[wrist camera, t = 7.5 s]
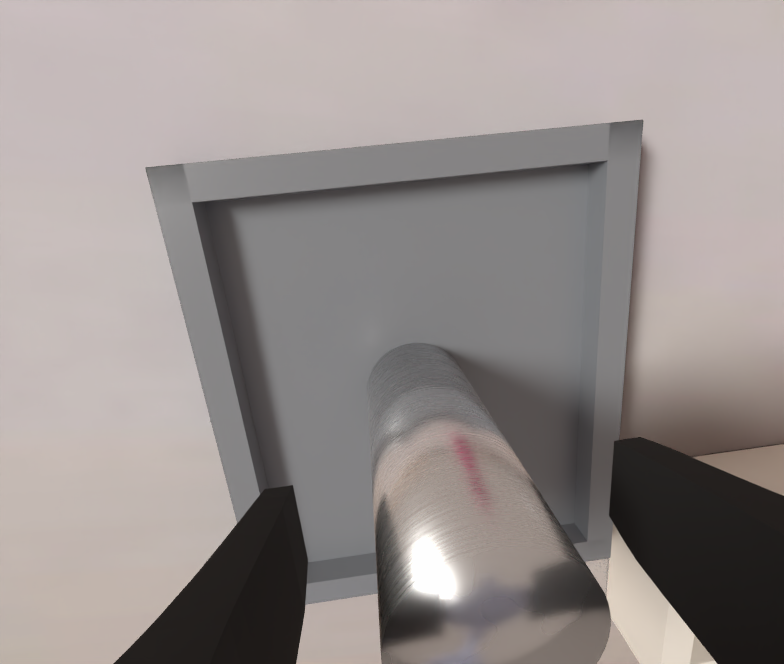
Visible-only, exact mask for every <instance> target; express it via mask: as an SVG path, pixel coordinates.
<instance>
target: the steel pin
mask: <svg viewBox="0 0 784 664" xmlns="http://www.w3.org/2000/svg"><path fill="white" fill-rule="evenodd" d="M367 399H368V418H369V437H370V456H371V475H372V494H373V512H374V531H375V550H376V569H377V588H378V607H379V626H380V645H381V660H382V664H597V662H598V660H599V659H600V657H601V655H602V653H603V651H604V649H605V647H606V644H607V641H608V638H609V633H610V626H611V614H610V609H609V604H608V601H607V598H606V596H605V593H604V592H603V590H602V588H601V587H600V585H599V584H598V582H597V581H596V579H595V577H594V576H593V574H592V573H591V571H590V570H589V568H588V567H587V565H586V563H585V562H584V560H583V559H582V557H581V556H580V554H579V552H578V551H577V549H576V548H575V546H574V545H573V543H572V542H571V540H570V538H569V537H568V535H567V534H566V532H565V531H564V529H563V527H562V526H561V524H560V523H559V521H558V520H557V518H556V517H555V515H554V513H553V512H552V510H551V509H550V507H549V506H548V504H547V502H546V501H545V499H544V498H543V496H542V495H541V493H540V492H539V490H538V488H537V487H536V485H535V484H534V482H533V481H532V479H531V478H530V476H529V474H528V473H527V471H526V470H525V468H524V467H523V465H522V463H521V462H520V460H519V459H518V457H517V456H516V454H515V453H514V451H513V449H512V448H511V446H510V445H509V443H508V442H507V440H506V438H505V437H504V435H503V434H502V432H501V431H500V429H499V428H498V426H497V424H496V423H495V421H494V420H493V418H492V417H491V415H490V414H489V412H488V410H487V409H486V407H485V406H484V404H483V403H482V401H481V399H480V398H479V396H478V395H477V393H476V392H475V390H474V389H473V387H472V385H471V384H470V382H469V381H468V379H467V378H466V376H465V374H464V373H463V371H462V370H461V368H460V367H459V365H458V364H457V362H456V361H455V359H454V358H453V357H452V356H451V355H450V354H449V353H448V352H446V351H445V350H443V349H441V348H439V347H437V346H434V345H431V344H426V343H409V344H404V345H401V346H398V347H396V348H394V349H392V350H390V351H389V352H387V353H386V354H385V355H384V356H382V357H381V358H380V359H379V361H378V362H377V363H376V364H375V366H374V367H373V369H372V371H371V373H370V376H369V379H368V384H367Z"/></svg>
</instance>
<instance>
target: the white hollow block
mask: <svg viewBox="0 0 784 664" xmlns="http://www.w3.org/2000/svg"><path fill="white" fill-rule="evenodd" d="M692 458H695V459H697V460H699V461H702V462H704V463H706V464H709V465H711V466H713V467H716V468H718V469H721V470H723V471H725V472H728V473H730V474H732V475H735V476H737V477H739V478H742V479H744V480H747V481H749V482H751V483H754V484H756V485H759V486H761V487H763V488H766V489H768V490H771V491H773V492H776V493H778V494H781V495H783V496H784V444H781V445H774V446H767V447H760V448H753V449H746V450H739V451H732V452H725V453H718V454H711V455H704V456H696V457H692ZM607 601H608V604H609V609H610V614H611V618H612V620H613V621H614V623H615V625H616V626H617V628H618V629H619V631H620V633H621V634H622V636H623V637H624V639H625V641H626V642H627V644H628V646H629V647H630V649H631V650H632V652H633V654H634V655H635V657H636V658H637V660H638V662H639V663H640V664H717V663H716V661H715V660H714V659H713V658H712V656H711V655H710V654H709V652H708V651H707V650H706V649H705V647H704V646H703V645H702V644H701V642H700V641H699V640H698V639H697V637H696V636H695V635H694V634H693V632H692V631H691V630H690V628H689V627H688V626H687V625H686V623H685V622H684V621H683V620H682V618H681V617H680V616H679V615H678V613H677V612H676V611H675V609H674V608H673V607H672V606H671V604H670V603H669V602H668V601H667V599H666V598H665V597H664V596H663V594H662V593H661V592H660V590H659V589H658V588H657V587H656V585H655V584H654V583H653V581H652V580H651V579H650V578H649V576H648V575H647V574H646V572H645V571H644V570H643V568H642V567H641V566H640V565H639V563H638V562H637V561H636V559H635V558H634V556H633V554H632V553H631V551H630V550H629V548H628V547H627V545H626V543H625V542H624V540H623V539H622V537H621V535H620V534H619V532H618V530H617V528H616V527H615V525H614V523H613V531H612V544H611V557H610V558H609V571H608V584H607Z"/></svg>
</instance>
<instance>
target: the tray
mask: <svg viewBox="0 0 784 664" xmlns="http://www.w3.org/2000/svg"><path fill="white" fill-rule="evenodd" d="M642 130H643V120H635V121H624V122H614V123H603V124H593V125H582V126H572V127H562V128H551V129H541V130H530V131H520V132H510V133H499V134H489V135H478V136H468V137H458V138H447V139H437V140H426V141H416V142H406V143H395V144H385V145H374V146H364V147H354V148H343V149H333V150H322V151H312V152H302V153H291V154H281V155H270V156H260V157H250V158H239V159H229V160H218V161H208V162H197V163H187V164H177V165H166V166H156V167H145V168H146V172H147V176H148V180H149V184H150V188H151V192H152V196H153V199H154V203H155V207H156V211H157V215H158V219H159V223H160V226H161V230H162V234H163V238H164V242H165V246H166V250H167V253H168V257H169V261H170V265H171V269H172V273H173V277H174V280H175V284H176V288H177V292H178V296H179V300H180V304H181V308H182V311H183V315H184V319H185V323H186V327H187V331H188V335H189V338H190V342H191V346H192V350H193V354H194V358H195V362H196V365H197V369H198V373H199V377H200V381H201V385H202V389H203V392H204V396H205V400H206V404H207V408H208V412H209V416H210V420H211V423H212V427H213V431H214V435H215V439H216V443H217V447H218V450H219V454H220V458H221V462H222V466H223V470H224V474H225V477H226V481H227V485H228V489H229V493H230V497H231V501H232V504H233V508H234V512H235V516H236V520H237V523H238V522H239V521H240V519H241V518H242V517H243V516H244V514H245V513H246V512H247V510H248V509H249V508H250V507H251V505H252V504H253V503H254V501H255V500H256V499H257V498H258V497H259V495H260V494H261V493H262V492H263V490H264V489H269V488H276V487H283V486H290V485H293V488H294V493H295V498H296V503H297V508H298V513H299V518H300V522H301V527H302V532H303V537H304V542H305V547H306V552H307V557H308V570H307V587H306V601H305V605H306V604H312V603H319V602H325V601H332V600H338V599H345V598H351V597H358V596H364V595H371V594H377V593H378V588H377V569H376V550H375V531H374V512H373V494H372V475H371V456H370V437H369V418H368V399H367V384H368V379H369V376H370V373H371V371H372V369H373V367H374V366H375V364H376V363H377V362H378V361H379V359H380V358H381V357H382V356H384V355H385V354H386V353H387V352H389V351H390V350H392V349H394V348H396V347H398V346H401V345H404V344H409V343H426V344H431V345H434V346H437V347H439V348H441V349H443V350H445V351H446V352H448V353H449V354H450V355H451V356H452V357H453V358H454V359H455V361H456V362H457V364H458V365H459V367H460V368H461V370H462V371H463V373H464V374H465V376H466V378H467V379H468V381H469V382H470V384H471V385H472V387H473V389H474V390H475V392H476V393H477V395H478V396H479V398H480V399H481V401H482V403H483V404H484V406H485V407H486V409H487V410H488V412H489V414H490V415H491V417H492V418H493V420H494V421H495V423H496V424H497V426H498V428H499V429H500V431H501V432H502V434H503V435H504V437H505V438H506V440H507V442H508V443H509V445H510V446H511V448H512V449H513V451H514V453H515V454H516V456H517V457H518V459H519V460H520V462H521V463H522V465H523V467H524V468H525V470H526V471H527V473H528V474H529V476H530V478H531V479H532V481H533V482H534V484H535V485H536V487H537V488H538V490H539V492H540V493H541V495H542V496H543V498H544V499H545V501H546V502H547V504H548V506H549V507H550V509H551V510H552V512H553V513H554V515H555V517H556V518H557V520H558V521H559V523H560V524H561V526H562V527H563V529H564V531H565V532H566V534H567V535H568V537H569V538H570V540H571V542H572V543H573V545H574V546H575V548H576V549H577V551H578V552H579V554H580V556H581V557H582V559H583V560H584V562H586V561H593V560H599V559H606V558H610V557H611V544H612V531H613V522H612V520H611V518H610V517H609V507H610V492H611V478H612V464H613V450H614V441H617V440H619V437H620V424H621V411H622V397H623V384H624V371H625V357H626V344H627V331H628V317H629V304H630V290H631V277H632V264H633V250H634V237H635V224H636V210H637V197H638V184H639V170H640V157H641V144H642Z"/></svg>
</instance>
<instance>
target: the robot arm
mask: <svg viewBox="0 0 784 664" xmlns="http://www.w3.org/2000/svg"><path fill="white" fill-rule="evenodd" d="M609 517H610V518H611V520H612V522H613V523H614V525H615V527H616V528H617V530H618V532H619V534H620V535H621V537H622V539H623V540H624V542H625V543H626V545H627V547H628V548H629V550H630V551H631V553H632V554H633V556H634V558H635V559H636V561H637V562H638V563H639V565H640V566H641V567H642V568H643V570H644V571H645V572H646V574H647V575H648V576H649V578H650V579H651V580H652V581H653V583H654V584H655V585H656V587H657V588H658V589H659V590H660V592H661V593H662V594H663V596H664V597H665V598H666V599H667V601H668V602H669V603H670V604H671V606H672V607H673V608H674V609H675V611H676V612H677V613H678V615H679V616H680V617H681V618H682V620H683V621H684V622H685V623H686V625H687V626H688V627H689V628H690V630H691V631H692V632H693V634H694V635H695V636H696V637H697V639H698V640H699V641H700V642H701V644H702V645H703V646H704V647H705V649H706V650H707V651H708V652H709V654H710V655H711V656H712V658H713V659H714V660H715V661H716V663H717V664H784V496H783V495H781V494H778V493H776V492H773V491H771V490H768V489H766V488H763V487H761V486H759V485H756V484H754V483H751V482H749V481H747V480H744V479H742V478H739V477H737V476H735V475H732V474H730V473H728V472H725V471H723V470H721V469H718V468H716V467H713V466H711V465H709V464H706V463H704V462H702V461H699V460H697V459H695V458H692V457H690V456H688V455H685V454H683V453H680V452H678V451H676V450H673V449H671V448H668V447H666V446H663V445H661V444H658V443H655V442H653V441H650V440H647V439H644V438H641V437H638V438H631V439H624V440H617V441H614V450H613V464H612V478H611V492H610V507H609ZM307 570H308V557H307V552H306V547H305V542H304V537H303V532H302V527H301V522H300V518H299V513H298V508H297V503H296V498H295V493H294V488H293V485H290V486H283V487H276V488H269V489H264V490H263V492H262V493H261V494H260V495H259V497H258V498H257V499H256V500H255V501H254V503H253V504H252V505H251V507H250V508H249V509H248V510H247V512H246V513H245V514H244V516H243V517H242V518H241V519H240V521H239V522H238V523H237V525H236V526H235V527H234V528H233V530H232V531H231V532H230V534H229V535H228V536H227V537H226V539H225V540H224V541H223V542H222V544H221V545H220V546H219V547H218V548H217V550H216V551H215V552H214V553H213V555H212V556H211V557H210V558H209V559H208V561H207V562H206V563H205V564H204V566H203V567H202V568H201V569H200V571H199V572H198V573H197V574H196V575H195V576H194V578H193V579H192V580H191V581H190V582H189V583H188V585H187V586H186V587H185V588H184V589H183V590H182V591H181V592H180V594H179V595H178V596H177V597H176V598H175V599H174V600H173V602H172V603H171V604H170V605H169V606H168V607H167V608H166V609H165V611H164V612H163V613H162V614H161V615H160V616H159V617H158V618H157V620H156V621H155V622H154V623H153V624H152V625H151V626H150V627H149V628H148V629H147V630H146V631H145V632H144V633H143V634H142V635H141V636H140V638H139V639H138V640H137V641H136V642H135V643H134V644H133V645H132V646H131V647H130V648H129V649H128V650H127V651H126V652H125V653H124V654H123V655H122V656H121V657H120V658H119V659H118V660H117V661H116V662H115V663H114V664H296V660H297V654H298V648H299V643H300V637H301V631H302V625H303V619H304V613H305V601H306V587H307Z"/></svg>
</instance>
